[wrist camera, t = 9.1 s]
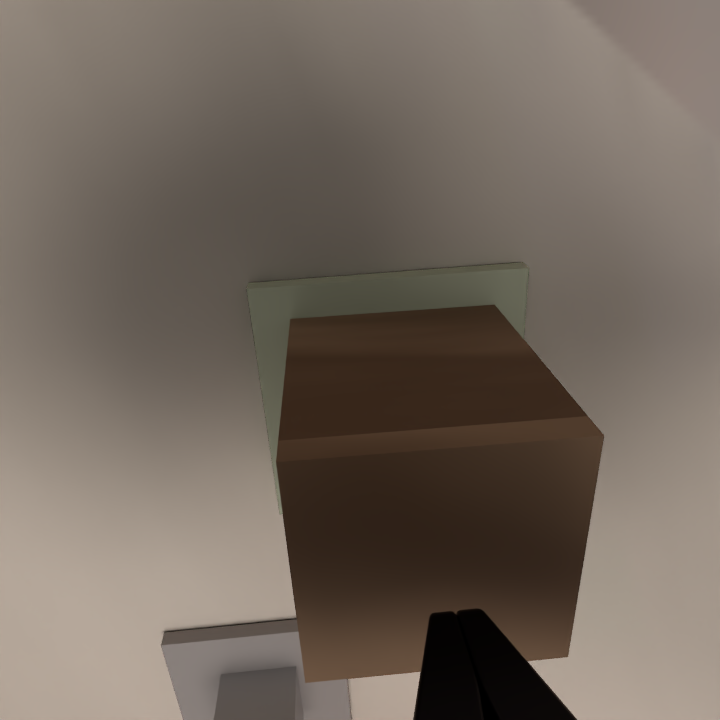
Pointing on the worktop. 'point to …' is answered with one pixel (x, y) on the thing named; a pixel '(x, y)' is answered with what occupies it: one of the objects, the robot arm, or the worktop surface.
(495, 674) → the robot arm
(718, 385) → the worktop surface
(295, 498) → the brown rectangular block
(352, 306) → the post
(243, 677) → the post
